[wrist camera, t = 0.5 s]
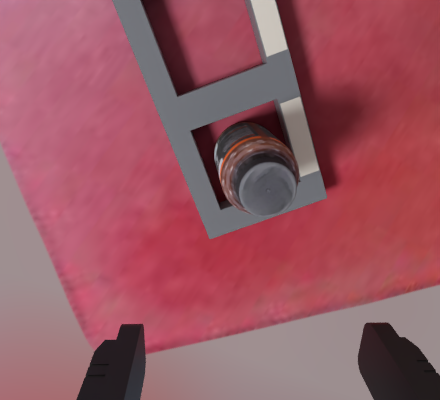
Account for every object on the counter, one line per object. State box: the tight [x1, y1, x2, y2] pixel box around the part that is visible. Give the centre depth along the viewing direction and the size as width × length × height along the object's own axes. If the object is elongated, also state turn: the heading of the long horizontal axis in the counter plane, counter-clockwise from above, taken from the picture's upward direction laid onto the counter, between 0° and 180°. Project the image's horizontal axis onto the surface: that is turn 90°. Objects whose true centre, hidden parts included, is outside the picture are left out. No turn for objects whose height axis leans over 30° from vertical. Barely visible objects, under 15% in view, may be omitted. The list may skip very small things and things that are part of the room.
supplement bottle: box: [214, 122, 299, 217], centre depth 29 cm, size 6×6×11 cm
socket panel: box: [112, 0, 327, 239], centre depth 32 cm, size 12×24×2 cm, turn 20°
